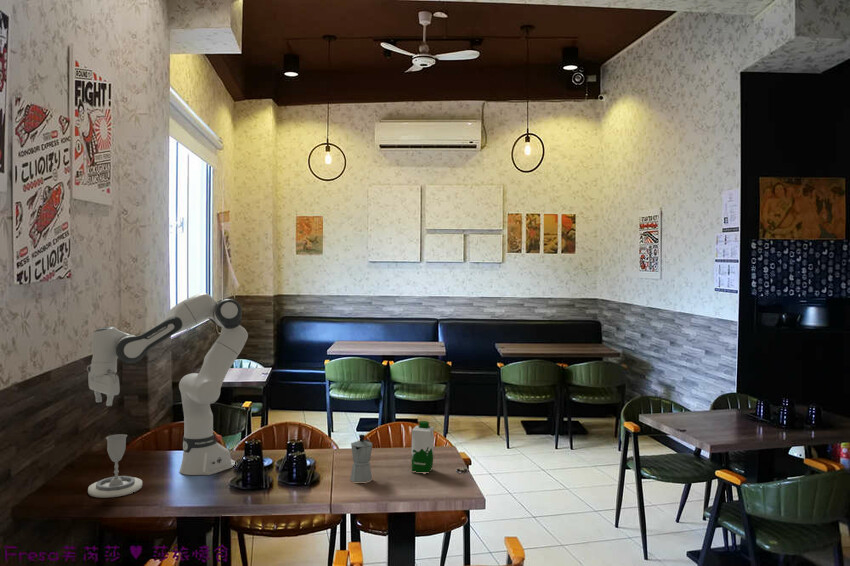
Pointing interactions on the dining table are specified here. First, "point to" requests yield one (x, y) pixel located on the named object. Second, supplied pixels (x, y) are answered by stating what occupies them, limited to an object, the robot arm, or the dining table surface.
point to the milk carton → (422, 447)
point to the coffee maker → (361, 460)
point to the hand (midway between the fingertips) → (103, 403)
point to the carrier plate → (115, 487)
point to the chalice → (116, 454)
